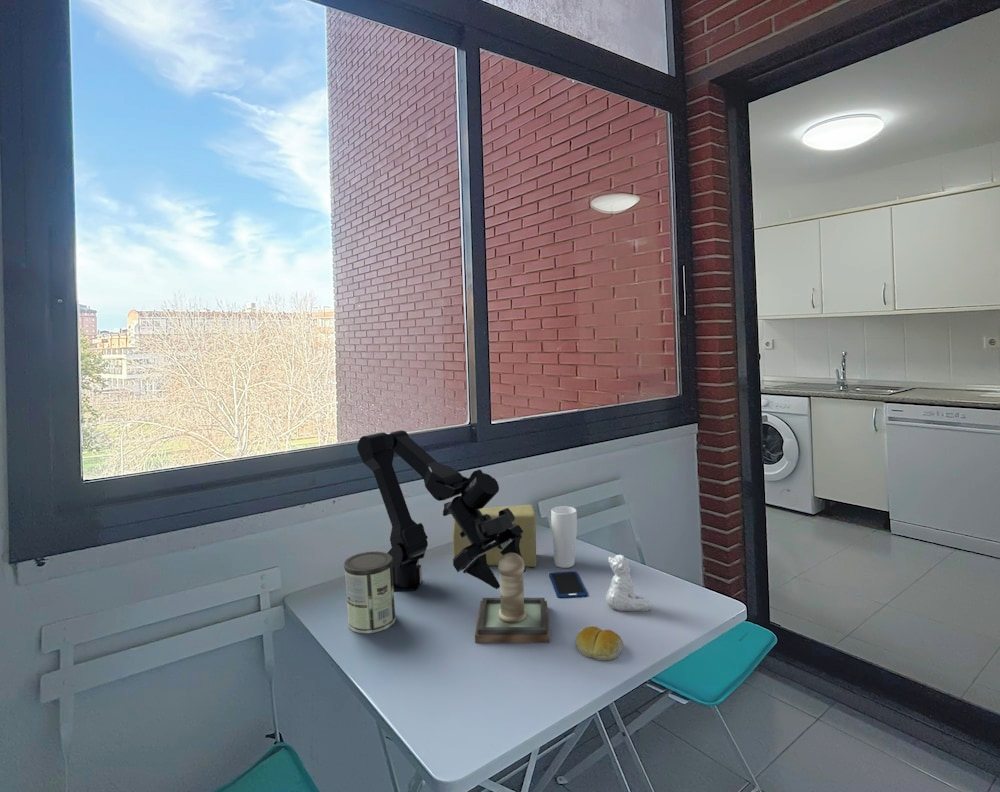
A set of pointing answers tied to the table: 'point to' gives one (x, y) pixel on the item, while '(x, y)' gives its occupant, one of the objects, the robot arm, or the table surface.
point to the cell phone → (568, 584)
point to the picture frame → (521, 632)
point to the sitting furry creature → (623, 588)
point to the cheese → (522, 518)
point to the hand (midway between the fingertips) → (511, 579)
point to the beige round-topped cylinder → (512, 588)
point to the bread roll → (599, 643)
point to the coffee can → (370, 592)
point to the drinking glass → (564, 535)
